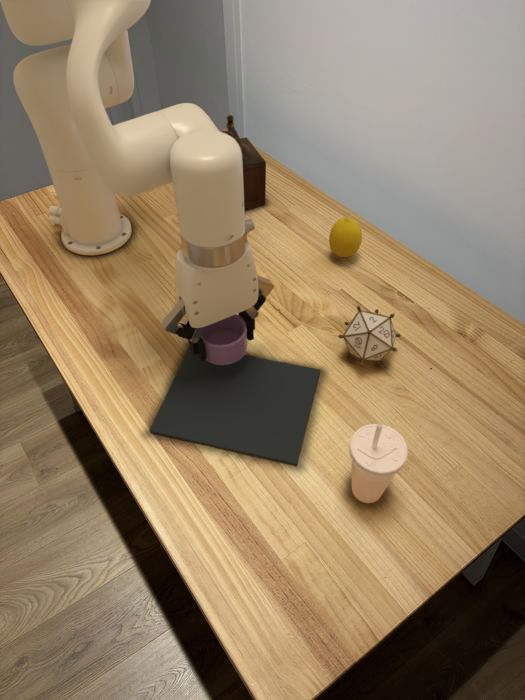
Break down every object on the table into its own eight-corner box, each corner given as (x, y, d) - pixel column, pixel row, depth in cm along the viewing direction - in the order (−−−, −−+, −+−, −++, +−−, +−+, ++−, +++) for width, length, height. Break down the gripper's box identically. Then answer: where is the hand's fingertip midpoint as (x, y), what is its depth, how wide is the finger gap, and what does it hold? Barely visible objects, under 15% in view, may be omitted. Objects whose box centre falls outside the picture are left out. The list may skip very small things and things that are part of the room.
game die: (372, 364, 86) (420, 323, 81) (364, 391, 79) (415, 347, 74) (330, 326, 85) (375, 282, 80) (317, 349, 78) (366, 302, 73)
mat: (149, 432, 73) (149, 430, 73) (190, 346, 84) (189, 344, 83) (296, 466, 70) (297, 464, 70) (320, 371, 80) (320, 369, 80)
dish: (192, 360, 77) (189, 341, 74) (208, 326, 81) (206, 307, 78) (239, 369, 76) (238, 350, 73) (252, 334, 80) (252, 315, 77)
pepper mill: (197, 189, 112) (187, 101, 99) (248, 178, 115) (245, 90, 102) (222, 232, 103) (215, 140, 89) (277, 219, 105) (278, 127, 92)
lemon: (358, 247, 99) (364, 209, 93) (358, 267, 96) (365, 229, 90) (327, 245, 100) (331, 208, 94) (326, 265, 96) (331, 227, 90)
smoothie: (336, 468, 70) (349, 402, 59) (386, 464, 70) (407, 398, 60) (345, 516, 66) (361, 453, 55) (399, 511, 66) (424, 449, 55)
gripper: (261, 204, 70) (262, 306, 83) (132, 247, 64) (155, 350, 77) (293, 234, 66) (289, 337, 79) (157, 284, 60) (178, 386, 73)
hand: (223, 343), depth 78 cm, fingers closed on dish, 6 cm apart
